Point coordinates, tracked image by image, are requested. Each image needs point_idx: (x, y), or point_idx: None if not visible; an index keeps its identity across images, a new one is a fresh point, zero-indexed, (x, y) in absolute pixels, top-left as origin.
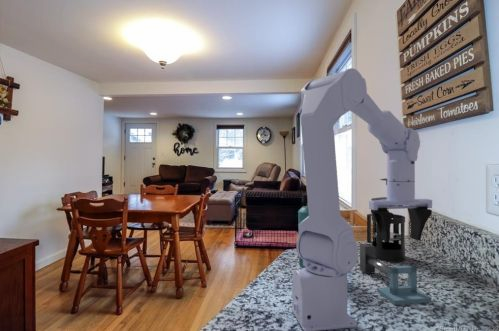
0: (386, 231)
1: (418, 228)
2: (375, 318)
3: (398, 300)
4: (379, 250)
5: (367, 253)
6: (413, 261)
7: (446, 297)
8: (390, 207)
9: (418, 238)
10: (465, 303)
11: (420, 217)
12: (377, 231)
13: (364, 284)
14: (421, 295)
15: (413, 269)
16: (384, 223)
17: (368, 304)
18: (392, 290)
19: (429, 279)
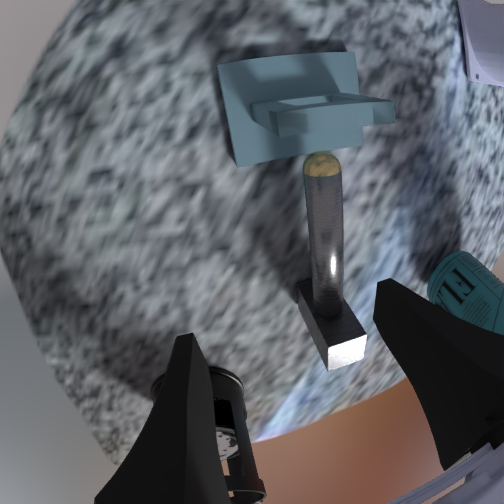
0: (437, 306)
1: (193, 396)
2: (416, 6)
3: (341, 52)
4: (235, 397)
5: (347, 320)
6: (136, 374)
7: (141, 107)
8: (464, 471)
9: (189, 340)
10: (103, 69)
11: (192, 473)
12: (250, 449)
13: (366, 196)
14: (244, 81)
15: (290, 109)
16: (485, 329)
17: (409, 69)
18: (347, 93)
19: (132, 255)
